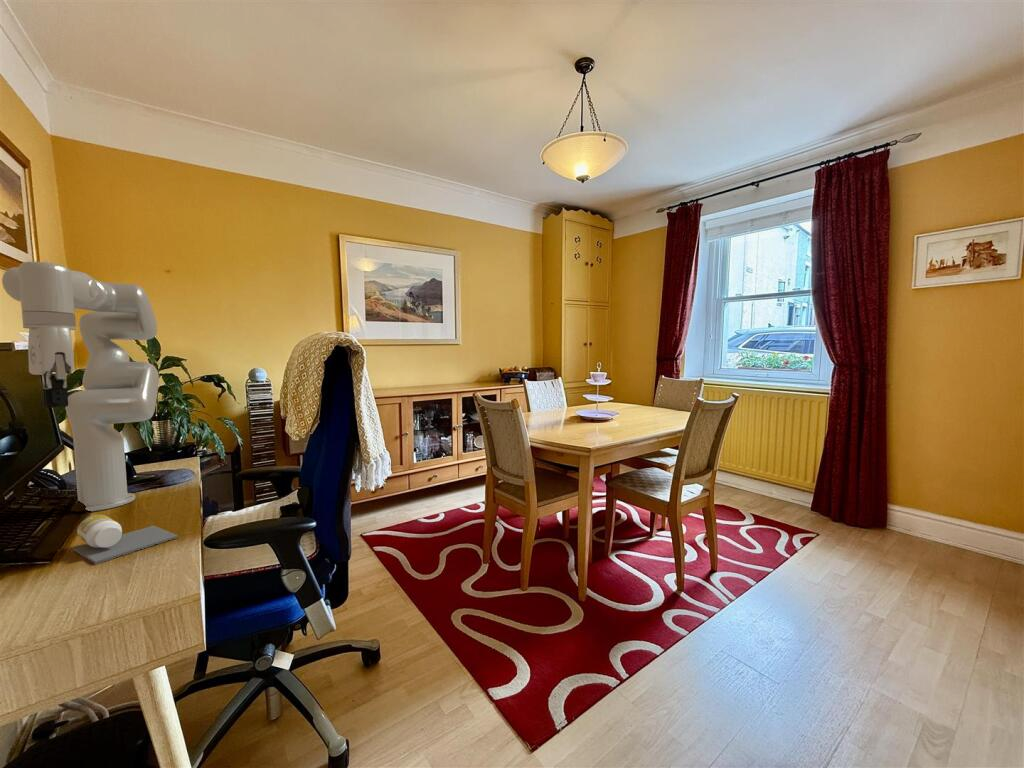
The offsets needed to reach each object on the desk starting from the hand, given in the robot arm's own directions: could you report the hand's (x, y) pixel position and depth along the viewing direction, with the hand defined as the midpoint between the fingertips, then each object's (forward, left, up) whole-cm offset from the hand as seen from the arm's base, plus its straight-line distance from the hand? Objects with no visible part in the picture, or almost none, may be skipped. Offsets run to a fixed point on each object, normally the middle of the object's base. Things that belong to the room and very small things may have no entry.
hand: (56, 406), depth 88 cm
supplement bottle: (+9, +2, -26) cm, 27 cm away
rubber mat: (+17, +5, -29) cm, 34 cm away
